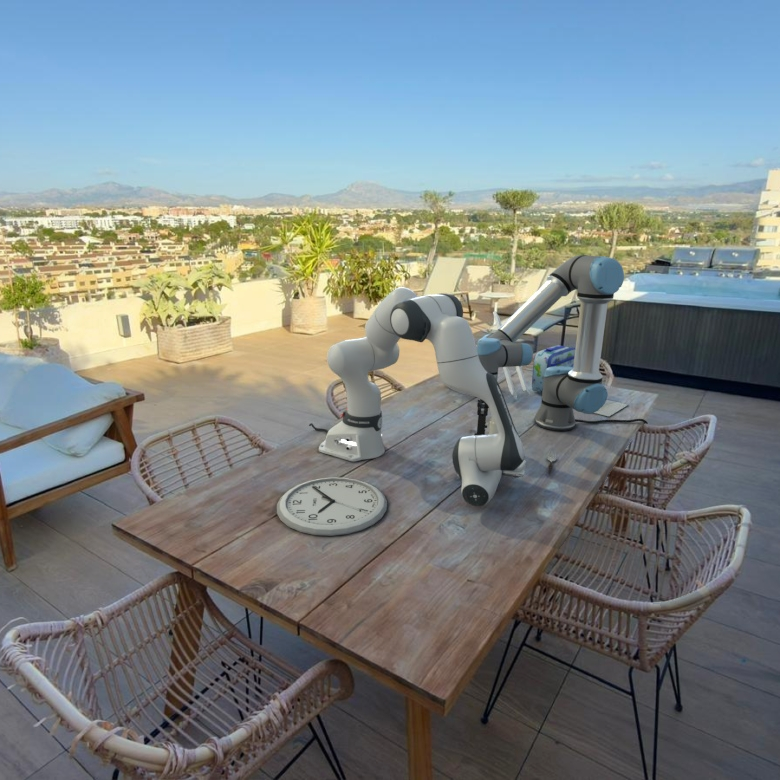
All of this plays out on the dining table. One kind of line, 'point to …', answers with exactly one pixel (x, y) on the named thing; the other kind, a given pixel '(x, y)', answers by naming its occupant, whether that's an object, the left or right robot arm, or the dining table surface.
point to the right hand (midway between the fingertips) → (479, 449)
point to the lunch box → (550, 363)
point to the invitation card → (610, 408)
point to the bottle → (492, 426)
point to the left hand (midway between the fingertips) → (495, 452)
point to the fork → (551, 460)
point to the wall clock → (331, 506)
